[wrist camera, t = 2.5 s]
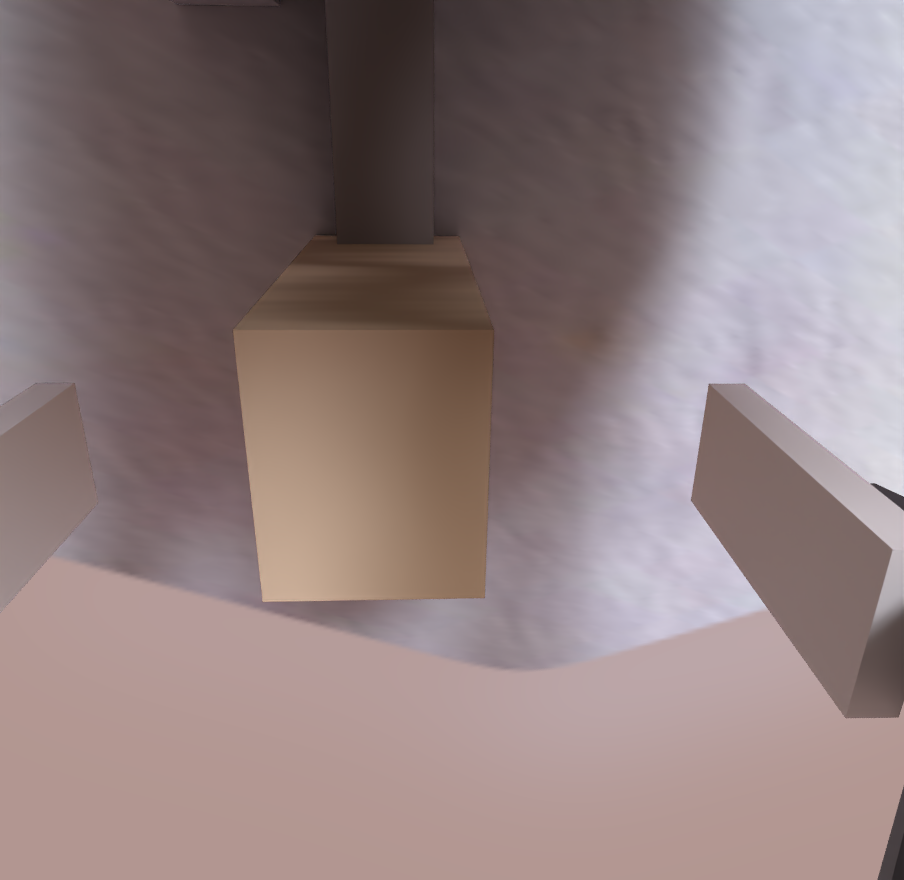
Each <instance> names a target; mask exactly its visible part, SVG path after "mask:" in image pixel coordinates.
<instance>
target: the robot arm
mask: <svg viewBox="0 0 904 880" xmlns="http://www.w3.org/2000/svg"><path fill="white" fill-rule="evenodd" d="M691 501H692V503H693V504H694V506H695V507H696V508H697V510H698V511H699V513H700V514H701V515H702V517H703V518H704V520H705V521H706V522H707V524H708V525H709V527H710V528H711V529H712V531H713V532H714V534H715V535H716V537H717V538H718V539H719V541H720V542H721V544H722V545H723V546H724V548H725V549H726V551H727V552H728V553H729V555H730V556H731V558H732V559H733V560H734V562H735V563H736V565H737V566H738V567H739V569H740V570H741V572H742V573H743V575H744V576H745V577H746V579H747V580H748V582H749V583H750V584H751V586H752V587H753V589H754V590H755V591H756V593H757V594H758V596H759V597H760V598H761V600H762V601H763V603H764V604H765V606H766V607H767V608H768V610H769V611H770V613H771V614H772V615H773V617H774V618H775V619H776V621H777V622H778V624H779V625H780V627H781V628H782V629H783V631H784V632H785V634H786V635H787V636H788V638H789V639H790V641H791V642H792V644H793V645H794V646H795V648H796V649H797V650H798V652H799V653H800V655H801V656H802V658H803V659H804V660H805V661H806V663H807V664H808V666H809V667H810V669H811V670H812V672H813V673H814V675H815V676H816V677H817V678H818V680H819V681H820V683H821V684H822V686H823V687H824V689H825V690H826V691H827V693H828V694H829V696H830V697H831V698H832V700H833V701H834V703H835V704H836V706H837V707H838V708H839V710H840V711H841V712H842V714H843V715H844V717H845V718H888V717H889V718H891V717H899V715H900V711H901V708H902V705H903V702H904V497H903V496H901V495H899V494H897V493H894V492H892V491H890V490H888V489H886V488H884V487H882V486H879V485H877V484H875V483H872V484H870V483H868V482H867V481H866V480H865V479H863V478H862V477H861V476H860V475H858V474H857V473H856V472H855V471H853V470H852V469H851V468H850V467H848V466H847V465H846V464H845V463H843V462H842V461H841V460H840V459H838V458H837V457H836V456H835V455H833V454H832V453H831V452H830V451H828V450H827V449H826V448H825V447H823V446H822V445H821V444H820V443H818V442H817V441H816V440H815V439H813V438H812V437H811V436H810V435H808V434H807V433H806V432H805V431H803V430H802V429H801V428H800V427H798V426H797V425H796V424H795V423H793V422H792V421H791V420H790V419H788V418H787V417H786V416H785V415H783V414H782V413H781V412H780V411H778V410H777V409H776V408H775V407H773V406H772V405H771V404H770V403H768V402H767V401H766V400H765V399H763V398H762V397H761V396H760V395H758V394H757V393H756V392H755V391H753V390H752V389H751V388H750V387H748V386H747V385H746V384H709V386H708V393H707V399H706V406H705V412H704V419H703V425H702V432H701V438H700V445H699V451H698V458H697V464H696V471H695V477H694V484H693V490H692V497H691ZM97 504H98V499H97V494H96V489H95V484H94V479H93V474H92V469H91V464H90V459H89V454H88V449H87V444H86V439H85V434H84V429H83V424H82V419H81V414H80V408H79V403H78V398H77V393H76V388H75V383H36V384H34V385H33V386H31V387H30V388H28V389H26V390H25V391H23V392H22V393H20V394H19V395H17V396H16V397H14V398H12V399H11V400H9V401H8V402H6V403H5V404H3V405H2V406H0V613H1V612H2V611H3V609H4V608H5V607H6V606H7V605H8V604H9V603H10V601H11V600H12V599H13V598H14V597H15V596H16V595H17V594H18V593H19V591H20V590H21V589H22V588H23V587H24V586H25V585H26V584H27V582H28V581H29V580H30V579H31V578H32V577H33V576H34V575H35V573H36V572H37V571H38V570H39V569H40V568H41V566H43V564H44V563H45V562H46V561H47V560H48V559H49V558H50V557H51V555H52V554H53V553H54V552H55V551H56V550H57V549H58V548H59V546H60V545H61V544H62V543H63V542H64V541H65V540H66V539H67V537H68V536H69V535H70V534H71V533H72V532H73V531H74V530H75V528H76V527H77V526H78V525H79V524H80V523H81V522H82V521H83V519H84V518H85V517H86V516H87V515H88V514H89V513H90V512H91V510H92V509H93V508H94V507H95V506H96V505H97ZM878 880H904V787H903V791H902V794H901V798H900V802H899V805H898V809H897V812H896V816H895V820H894V823H893V826H892V830H891V834H890V837H889V841H888V844H887V848H886V851H885V855H884V859H883V862H882V866H881V870H880V873H879V876H878Z"/></svg>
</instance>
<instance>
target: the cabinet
mask: <svg viewBox="0 0 904 880" xmlns="http://www.w3.org/2000/svg"><path fill="white" fill-rule="evenodd" d="M170 1H172V2H174V3H176V4H185V5H237V6H280V0H170Z"/></svg>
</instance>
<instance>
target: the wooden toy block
mask: <svg viewBox="0 0 904 880" xmlns="http://www.w3.org/2000/svg"><path fill="white" fill-rule="evenodd" d="M325 14H326V34H327V54H328V74H329V94H330V114H331V134H332V154H333V174H334V194H335V214H336V234H337V236H314V237H313V238H312V240H311V241H310V242H309V243H308V244H307V245H306V246H305V248H304V249H303V250H302V251H301V252H300V253H299V255H298V256H297V257H296V258H295V259H294V260H293V261H292V263H291V264H290V265H289V266H288V267H287V268H286V269H285V271H284V272H283V273H282V274H281V275H280V276H279V277H278V279H277V280H276V281H275V282H274V283H273V284H272V285H271V287H270V288H269V289H268V290H267V291H266V292H265V294H264V295H263V296H262V297H261V298H260V299H259V300H258V302H257V303H256V304H255V305H254V306H253V307H252V308H251V310H250V311H249V312H248V313H247V314H246V315H245V316H244V318H243V319H242V320H241V321H240V322H239V323H238V325H237V326H236V327H235V328H234V329H233V337H234V346H235V356H236V365H237V374H238V383H239V392H240V401H241V410H242V419H243V428H244V437H245V446H246V455H247V464H248V473H249V482H250V491H251V500H252V509H253V518H254V528H255V537H256V546H257V555H258V564H259V573H260V582H261V591H262V600H263V602H284V601H341V600H398V599H455V598H485V575H486V547H487V518H488V489H489V461H490V432H491V404H492V375H493V346H494V328H493V326H492V323H491V320H490V318H489V315H488V312H487V309H486V307H485V304H484V301H483V299H482V296H481V293H480V291H479V288H478V285H477V283H476V280H475V277H474V275H473V272H472V269H471V267H470V264H469V261H468V259H467V256H466V253H465V250H464V248H463V245H462V242H461V240H460V237H459V236H434V0H325Z"/></svg>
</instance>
